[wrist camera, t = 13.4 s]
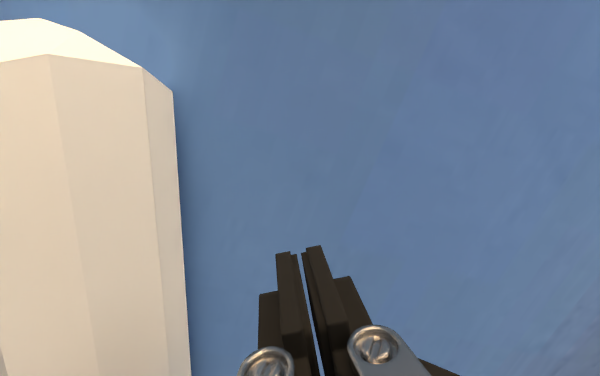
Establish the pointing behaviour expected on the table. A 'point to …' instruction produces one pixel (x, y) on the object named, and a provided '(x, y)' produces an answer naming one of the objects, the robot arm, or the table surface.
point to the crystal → (87, 211)
